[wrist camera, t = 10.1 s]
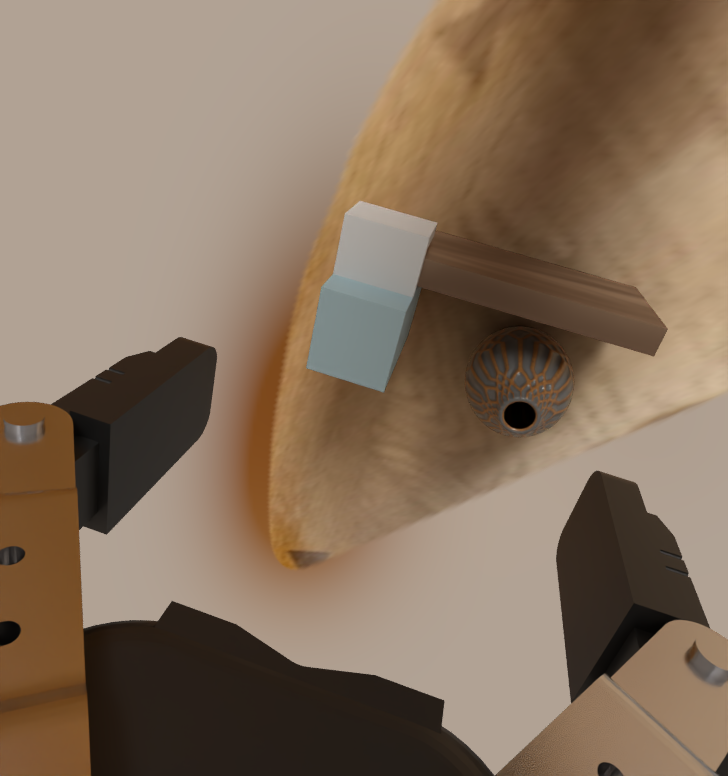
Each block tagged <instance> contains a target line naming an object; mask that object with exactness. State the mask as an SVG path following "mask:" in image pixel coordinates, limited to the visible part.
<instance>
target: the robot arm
mask: <svg viewBox="0 0 728 776" xmlns="http://www.w3.org/2000/svg"><path fill="white" fill-rule="evenodd" d="M216 362H217V353H216V350H215V348H214V347H211V346H208V345H204V344H201V343H198V342H195V341H192V340H188V339H186V338H182V337H179V338H177V339H175V340H174V341H172V342H171V343H170V344H168V345H166V346H165V347H163V348H162V349H160V350H159V351H157V352H156V353H154V352H151V351H148V352H144V353H140V354H136V355H132V356H128V357H126V358H124V359H122V360H121V361H119V362H117V363H116V364H114V365H113V366H111V367H110V368H109V370H105V371H103V372H102V373H100V374H98V375H97V376H96V378H95V379H91V380H89V381H87V382H86V383H84V384H83V385H81V386H79V387H78V388H76V389H75V390H73V391H72V392H70V393H68V394H67V395H65V396H64V397H62V398H60V399H59V400H57V401H56V402H54V403H52V404H51V405H50V404H45V403H39V402H17V403H10V404H6V405H1V406H0V776H494V774H493V773H492V772H491V771H490V770H489V768H488V767H487V766H486V765H485V764H484V762H483V761H482V760H481V759H480V758H479V757H478V756H477V755H476V754H475V753H474V752H473V751H472V750H471V749H470V748H469V747H468V746H467V745H466V744H465V743H464V742H462V741H461V740H460V739H459V738H457V737H456V736H455V735H454V734H453V733H451V732H450V731H448V730H447V729H445V728H444V727H442V717H443V708H444V700H441V699H438V698H436V697H433V696H430V695H428V694H425V693H422V692H419V691H417V690H414V689H411V688H409V687H406V686H403V685H400V684H398V683H395V682H392V681H389V680H387V679H384V678H381V677H378V676H376V675H369V674H360V673H352V672H344V671H336V670H327V669H319V668H311V667H304V666H300V665H298V664H296V663H294V662H292V661H290V660H289V659H287V658H286V657H284V656H283V655H281V654H280V653H278V652H277V651H275V650H274V649H272V648H271V647H269V646H268V645H266V644H265V643H263V642H262V641H260V640H259V639H257V638H256V637H254V636H253V635H251V634H250V633H248V632H247V631H245V630H244V629H242V628H241V627H239V626H238V625H236V624H233V623H231V622H228V621H225V620H223V619H220V618H217V617H214V616H212V615H209V614H206V613H203V612H201V611H198V610H195V609H193V608H190V607H187V606H184V605H182V604H179V603H176V602H173V601H172V602H171V603H170V605H169V606H168V608H167V609H166V610H165V612H164V613H163V615H162V616H161V618H160V619H159V620H158V621H143V620H140V621H139V620H132V621H131V620H130V621H119V622H111V623H106V624H100V625H95V626H91V627H88V628H84V629H83V612H82V589H81V567H80V566H81V565H80V543H79V530H80V529H81V528H82V527H83V526H84V527H87V528H90V529H93V530H96V531H98V532H101V533H104V534H108V533H109V532H110V530H111V529H112V528H113V527H114V526H115V525H116V524H117V523H118V522H119V521H120V520H121V519H122V518H123V517H124V516H125V515H126V514H127V513H128V512H129V511H130V510H131V509H132V508H133V507H134V506H135V504H136V503H137V502H138V501H139V500H140V499H141V498H142V497H143V496H144V495H145V494H146V493H147V492H148V491H149V490H150V489H151V488H152V487H153V486H154V485H155V484H156V483H157V482H158V480H160V479H161V477H162V476H163V475H164V474H165V473H166V472H167V471H168V470H169V469H170V468H171V467H172V466H173V465H174V464H175V463H176V462H177V461H178V460H179V459H180V458H181V456H182V455H184V454H185V452H186V451H187V450H188V449H189V448H190V447H191V446H192V445H193V444H194V443H195V442H196V441H197V440H198V439H199V438H200V436H201V435H202V433H203V431H204V429H205V427H206V424H207V421H208V419H209V415H210V408H211V400H212V393H213V385H214V377H215V369H216ZM681 559H682V555H681V552H680V550H679V547H678V545H677V542H676V540H675V537H674V536H673V534H672V533H671V532H670V531H669V530H668V528H667V527H666V526H665V525H664V524H663V522H662V521H661V520H660V519H659V518H658V517H657V516H656V515H653V514H650V513H647V511H646V508H645V505H644V503H643V499H642V496H641V494H640V491H639V488H638V485H637V484H636V483H634V482H631V481H628V480H625V479H622V478H619V477H616V476H613V475H609V474H607V473H603V472H600V471H595V472H594V473H593V474H592V475H591V476H590V478H589V480H588V481H587V483H586V486H585V487H584V490H583V491H582V493H581V495H580V497H579V499H578V501H577V503H576V505H575V507H574V509H573V511H572V513H571V515H570V517H569V519H568V521H567V523H566V525H565V527H564V529H563V531H562V534H561V536H560V540H559V543H558V547H557V555H556V562H557V571H558V582H559V591H560V601H561V610H562V620H563V629H564V639H565V649H566V659H567V668H568V677H569V687H570V696H571V704H570V705H569V706H568V707H567V708H566V709H565V710H564V711H563V712H562V713H561V714H560V715H559V716H558V717H557V718H556V719H554V721H552V722H551V723H550V724H549V725H548V726H547V727H546V728H545V729H544V730H543V731H542V732H541V733H540V734H539V735H538V736H537V737H535V738H534V739H533V740H532V741H531V742H530V743H529V744H528V745H527V746H526V747H525V748H524V749H523V750H522V751H521V752H520V753H518V754H517V755H516V756H515V757H514V758H513V759H512V760H511V761H510V762H509V763H508V764H507V765H506V766H505V767H504V768H503V769H502V770H500V771H499V772H498V773H497V774H496V775H495V776H728V640H727V639H726V638H725V637H723V636H722V635H720V634H719V633H717V632H715V631H713V630H712V629H710V627H709V624H708V622H707V619H706V616H705V614H704V611H703V609H702V606H701V604H700V601H699V598H698V596H697V593H696V591H695V588H694V586H693V583H692V581H691V578H690V577H688V570H687V568H686V565H685V563H684V561H683V560H681Z"/></svg>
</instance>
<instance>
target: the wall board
mask: <svg viewBox="0 0 728 776" xmlns="http://www.w3.org/2000/svg"><path fill="white" fill-rule="evenodd" d="M417 287H421V288H424V289H428V290H431V291H434V292H438V293H441V294H444V295H448V296H451V297H455V298H458V299H461V300H465V301H468V302H472V303H475V304H478V305H482V306H485V307H489V308H492V309H495V310H499V311H502V312H505V313H509V314H512V315H516V316H519V317H522V318H526V319H529V320H533V321H536V322H539V323H543V324H546V325H549V326H553V327H556V328H560V329H563V330H566V331H570V332H573V333H577V334H580V335H583V336H587V337H590V338H594V339H597V340H600V341H604V342H607V343H610V344H614V345H617V346H621V347H624V348H627V349H631V350H634V351H638V352H641V353H644V354H648V355H651V356H654V355H655V353H656V351H657V349H658V347H659V345H660V343H661V342H662V340H663V338H664V336H665V334H666V332H667V330H668V329H667V327H666V326H665V325H664V323H663V322H662V321H661V319H660V318H659V317H658V316H657V314H656V313H655V312H654V310H653V309H652V308H651V306H650V305H649V304H648V302H647V301H646V300H645V299H644V297H643V296H642V295H641V293H640V292H639V291H638V289H637V288H636V287H632V286H629V285H625V284H622V283H618V282H615V281H611V280H608V279H604V278H601V277H597V276H594V275H590V274H587V273H583V272H580V271H576V270H573V269H569V268H566V267H562V266H559V265H555V264H552V263H548V262H545V261H541V260H538V259H534V258H531V257H527V256H524V255H520V254H517V253H513V252H510V251H506V250H503V249H499V248H496V247H492V246H489V245H485V244H482V243H478V242H475V241H471V240H468V239H464V238H460V237H457V236H453V235H450V234H446V233H443V232H439V231H436V230H435V234H434V237H433V239H432V241H431V243H430V244H429V246H428V248H427V252H426V256H425V259H424V263H423V266H422V270H421V273H420V277H419V281H418V284H417Z"/></svg>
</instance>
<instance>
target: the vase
mask: <svg viewBox="0 0 728 776" xmlns="http://www.w3.org/2000/svg"><path fill="white" fill-rule="evenodd" d="M465 389H466V394H467V398H468V401H469V403H470V406H471V408H472V409H473V411H474V413H475V414H476V416H477V417H478V418H479V419H480V420H481V421H482V422H483V423H484V424H485V425H486V426H487V427H489V428H490V429H492V430H494V431H496V432H498V433H500V434H503V435H507V436H512V437H528V436H533V435H536V434H539V433H541V432H544V431H545V430H547V429H549V428H550V427H552V426H553V425H554V424H555V423H557V422H558V420H559V419H560V418H561V417H562V416H563V414H564V413H565V411H566V410H567V408H568V406H569V404H570V401H571V398H572V395H573V390H574V374H573V369H572V366H571V363H570V360H569V358H568V356H567V354H566V352H565V351H564V349H563V348H562V346H561V345H560V344H559V343H558V342H557V341H556V340H555V339H553V338H552V337H551V336H549V335H548V334H546V333H544V332H542V331H540V330H537V329H534V328H530V327H522V326H517V327H509V328H505V329H502V330H499V331H497V332H495V333H493V334H491V335H490V336H488V337H487V338H486V339H484V340H483V341H482V342H481V343H480V344H479V345H478V346H477V348H476V349H475V350H474V352H473V354H472V356H471V358H470V360H469V363H468V366H467V370H466V375H465Z"/></svg>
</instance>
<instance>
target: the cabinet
mask: <svg viewBox="0 0 728 776" xmlns="http://www.w3.org/2000/svg"><path fill="white" fill-rule="evenodd" d="M436 226H437V222H433V221H430V220H426V219H422V218H419V217H415V216H412V215H408V214H405V213H401V212H398V211H394V210H391V209H387V208H384V207H380V206H377V205H373V204H369V203H366V202H362V201H359V202H358V203H357V204H356V205H355V206H353V207H352V208H351V209H350V210H349V211H347V212H346V213H345V216H344V222H343V227H342V232H341V237H340V242H339V247H338V252H337V257H336V262H335V267H334V272H333V275H332V276H331V277H330V278H329V279H328V280H327V281H326V282H325V284H324V285H323V286H322V287H321V292H320V298H319V303H318V308H317V314H316V319H315V324H314V329H313V335H312V340H311V345H310V351H309V356H308V361H307V367H306V368H307V369H311V370H314V371H317V372H320V373H323V374H327V375H330V376H333V377H336V378H339V379H342V380H346V381H349V382H352V383H355V384H358V385H362V386H365V387H368V388H371V389H374V390H377V391H381V392H384V391H385V388H386V386H387V384H388V381H389V379H390V377H391V374H392V372H393V370H394V367H395V365H396V363H397V360H398V358H399V356H400V353H401V351H402V349H403V346H404V344H405V342H406V339H407V337H408V334H409V330H410V327H411V323H412V320H413V316H414V313H415V309H416V306H417V302H418V299H419V295H420V292H421V287H417V284H418V281H419V277H420V273H421V270H422V266H423V263H424V259H425V256H426V252H427V248H428V246H429V244H430V243H431V241H432V239H433V237H434V234H435V230H436Z"/></svg>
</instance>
